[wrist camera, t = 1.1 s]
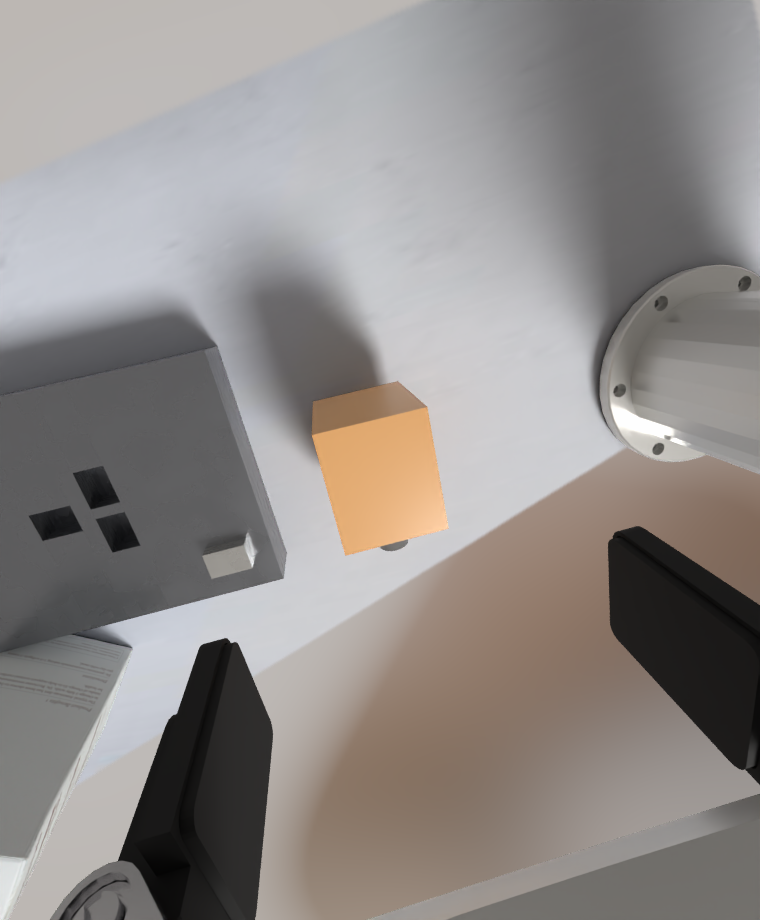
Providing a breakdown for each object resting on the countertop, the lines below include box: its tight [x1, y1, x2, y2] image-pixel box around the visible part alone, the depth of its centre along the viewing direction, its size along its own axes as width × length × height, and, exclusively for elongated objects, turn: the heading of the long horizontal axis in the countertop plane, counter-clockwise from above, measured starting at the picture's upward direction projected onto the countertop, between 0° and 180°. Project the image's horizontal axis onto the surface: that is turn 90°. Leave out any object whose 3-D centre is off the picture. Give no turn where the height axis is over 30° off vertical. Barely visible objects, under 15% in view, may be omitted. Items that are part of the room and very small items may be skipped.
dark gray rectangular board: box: [0, 346, 287, 653], centre depth 25 cm, size 18×14×4 cm
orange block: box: [312, 381, 449, 556], centre depth 24 cm, size 8×5×9 cm, turn 12°
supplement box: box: [0, 634, 133, 920], centre depth 24 cm, size 7×7×13 cm
